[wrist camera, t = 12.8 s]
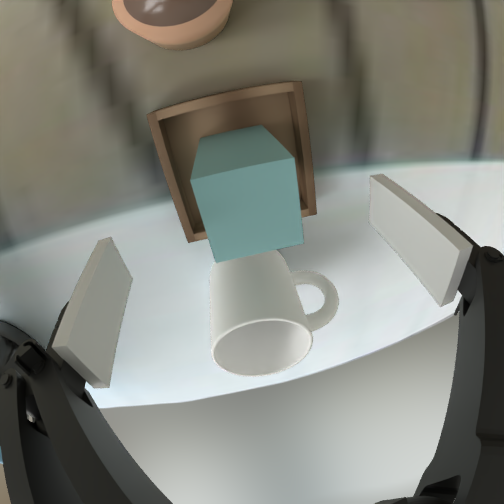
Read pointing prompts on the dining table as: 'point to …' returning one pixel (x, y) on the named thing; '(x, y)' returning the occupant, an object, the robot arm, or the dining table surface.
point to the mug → (263, 314)
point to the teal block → (246, 193)
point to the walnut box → (223, 120)
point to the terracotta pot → (174, 20)
